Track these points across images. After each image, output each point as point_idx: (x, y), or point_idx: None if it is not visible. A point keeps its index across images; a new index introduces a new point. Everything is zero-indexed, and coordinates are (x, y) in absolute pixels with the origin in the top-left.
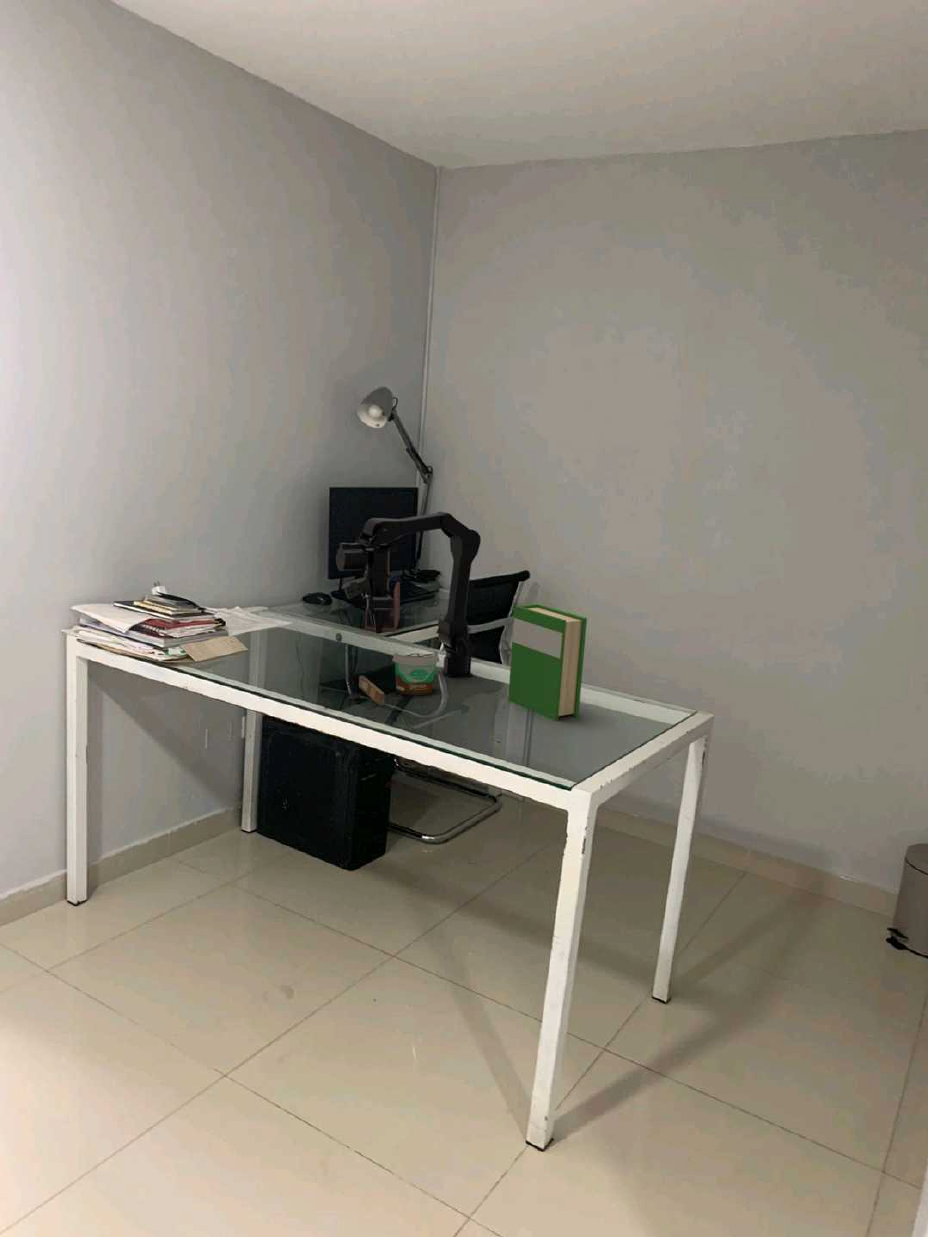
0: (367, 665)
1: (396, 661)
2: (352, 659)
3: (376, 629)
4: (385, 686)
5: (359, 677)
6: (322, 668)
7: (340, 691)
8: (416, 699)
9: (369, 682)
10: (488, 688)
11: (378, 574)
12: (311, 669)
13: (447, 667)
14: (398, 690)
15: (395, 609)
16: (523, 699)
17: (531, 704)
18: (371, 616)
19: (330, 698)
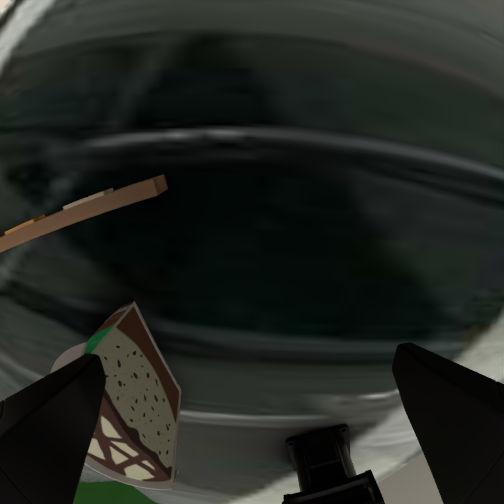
0: (445, 231)
1: (64, 354)
2: (500, 192)
3: (63, 372)
4: (184, 271)
5: (153, 178)
6: (416, 69)
7: (113, 108)
8: (69, 340)
9: (68, 218)
10: (199, 477)
11: None
12: (401, 31)
13: (307, 448)
14: (120, 307)
15: None
16: (92, 492)
17: (79, 490)
18: (438, 380)
19: (45, 86)
